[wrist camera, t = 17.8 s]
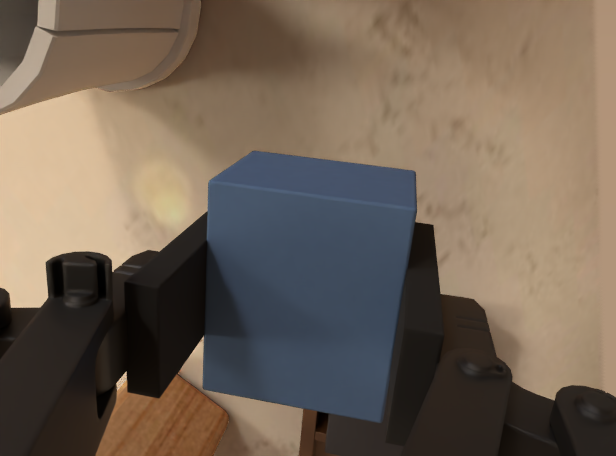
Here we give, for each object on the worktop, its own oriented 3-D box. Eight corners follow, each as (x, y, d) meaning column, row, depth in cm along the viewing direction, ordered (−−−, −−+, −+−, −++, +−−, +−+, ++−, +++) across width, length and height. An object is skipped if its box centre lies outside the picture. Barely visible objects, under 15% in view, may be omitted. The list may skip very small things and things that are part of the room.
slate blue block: (252, 149, 17) (207, 180, 13) (416, 170, 16) (417, 208, 13) (242, 322, 19) (201, 390, 15) (388, 346, 18) (382, 425, 15)
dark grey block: (344, 317, 31) (335, 355, 27) (435, 331, 30) (438, 373, 26) (334, 406, 33) (324, 453, 29) (419, 421, 32) (419, 472, 28)
